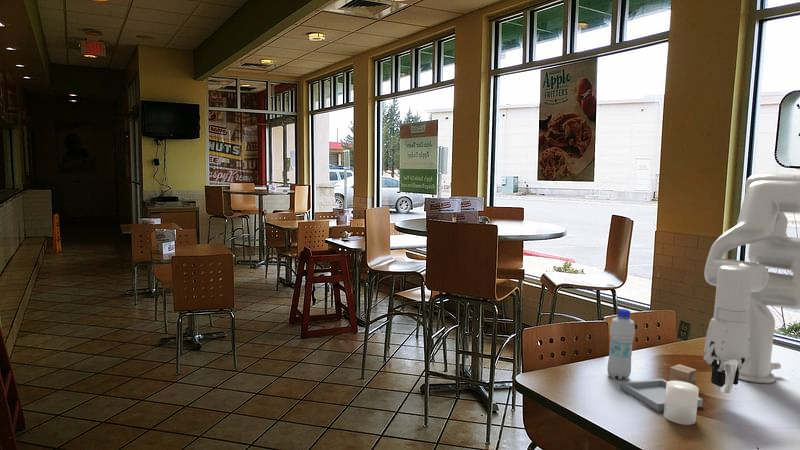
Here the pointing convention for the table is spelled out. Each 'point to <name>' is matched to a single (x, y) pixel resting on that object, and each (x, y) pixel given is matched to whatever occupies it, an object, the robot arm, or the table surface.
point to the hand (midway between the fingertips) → (724, 383)
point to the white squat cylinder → (681, 402)
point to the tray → (649, 392)
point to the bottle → (621, 345)
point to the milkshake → (728, 375)
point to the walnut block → (682, 374)
